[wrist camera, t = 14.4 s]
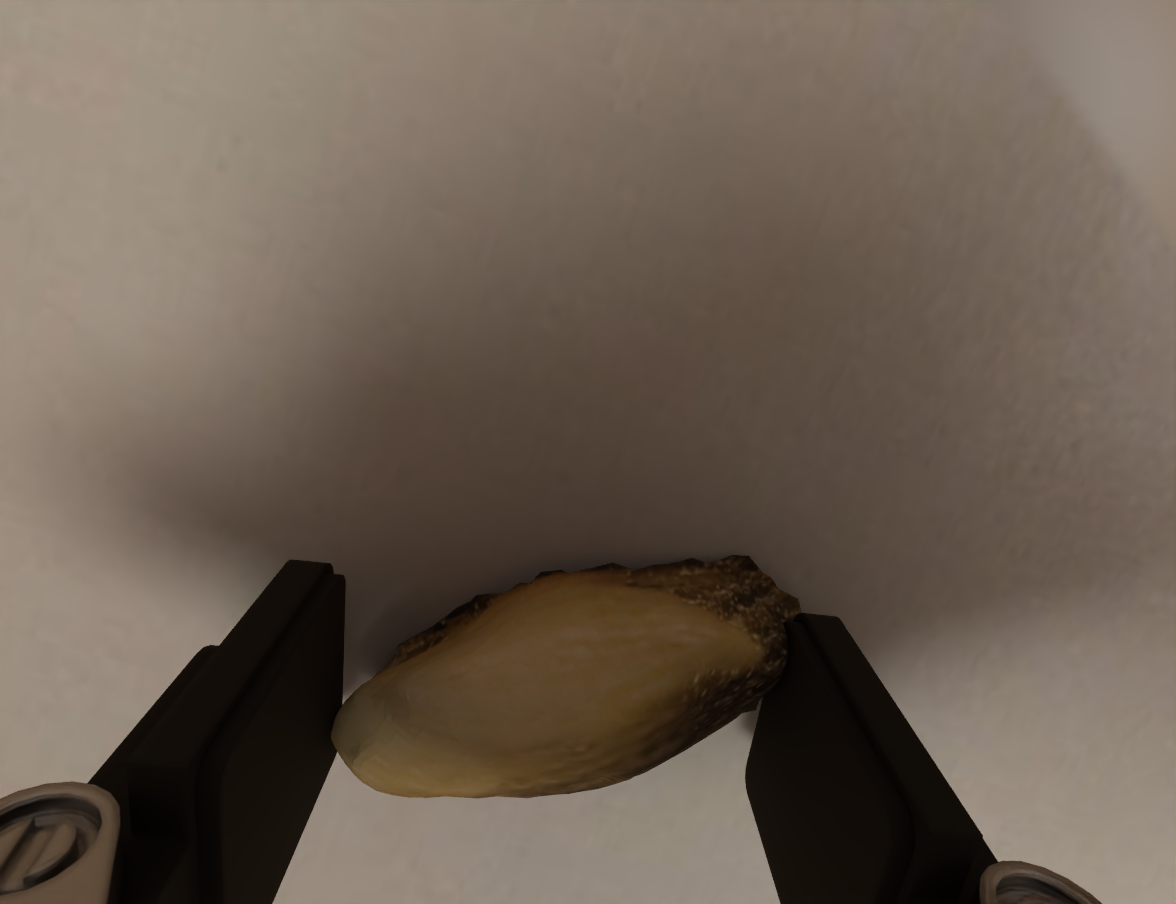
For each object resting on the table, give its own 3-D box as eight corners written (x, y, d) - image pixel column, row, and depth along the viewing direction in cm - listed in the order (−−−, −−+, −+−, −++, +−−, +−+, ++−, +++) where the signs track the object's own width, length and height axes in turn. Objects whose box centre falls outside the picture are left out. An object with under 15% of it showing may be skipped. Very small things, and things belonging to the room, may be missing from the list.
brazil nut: (322, 715, 11) (302, 900, 8) (420, 437, 10) (434, 551, 7) (673, 760, 13) (743, 915, 11) (793, 541, 12) (908, 656, 9)
